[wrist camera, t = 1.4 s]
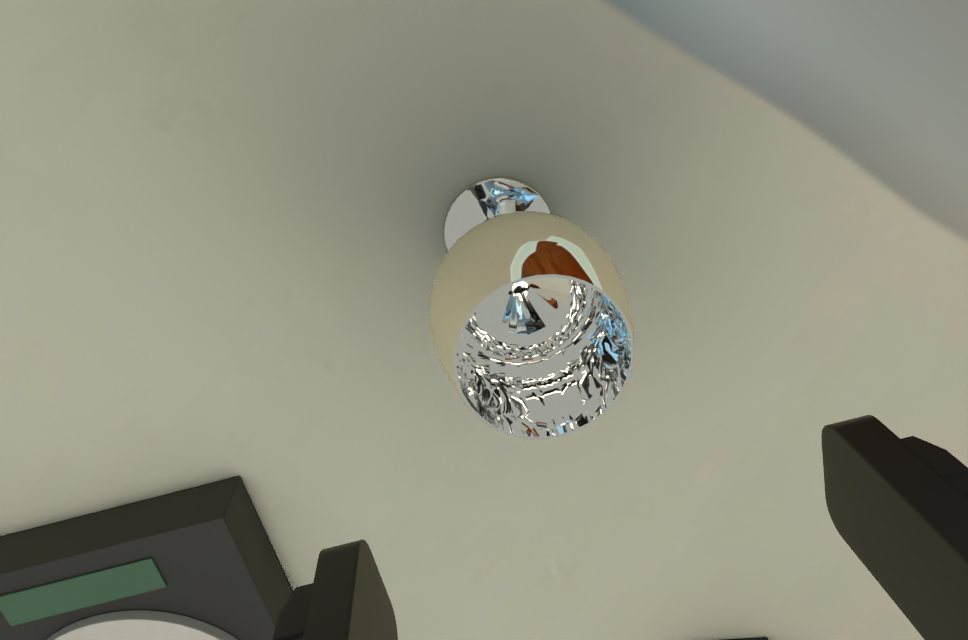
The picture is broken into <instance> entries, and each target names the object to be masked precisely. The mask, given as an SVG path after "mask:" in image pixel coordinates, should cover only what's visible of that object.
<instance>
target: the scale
mask: <svg viewBox="0 0 968 640" xmlns="http://www.w3.org/2000/svg"><path fill="white" fill-rule="evenodd" d="M292 593H293V592H292V590H291V587H290V585H289V583H288V581H287V579H286V576H285V574H284V572H283V570H282V568H281V566H280V563H279V561H278V559H277V557H276V555H275V552H274V550H273V548H272V546H271V544H270V542H269V539H268V537H267V535H266V533H265V531H264V529H263V526H262V524H261V522H260V520H259V518H258V515H257V513H256V511H255V509H254V507H253V505H252V502H251V500H250V498H249V496H248V494H247V492H246V489H245V487H244V485H243V483H242V481H241V478H240V477H235V478H232V479H228V480H224V481H220V482H216V483H212V484H208V485H204V486H200V487H196V488H192V489H188V490H184V491H180V492H177V493H173V494H169V495H165V496H161V497H157V498H153V499H149V500H145V501H141V502H137V503H133V504H129V505H125V506H122V507H118V508H114V509H110V510H106V511H102V512H98V513H94V514H90V515H86V516H82V517H78V518H74V519H70V520H67V521H63V522H59V523H55V524H51V525H47V526H43V527H39V528H35V529H31V530H27V531H23V532H19V533H15V534H12V535H8V536H4V537H0V640H272V639H273V635H274V631H275V626H276V622H277V618H278V614H279V612H280V611H281V609H282V608H283V606H284V605H285V603H286V602H287V600H288V599H289V597H290V596H291V594H292Z"/></svg>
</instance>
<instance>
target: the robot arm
mask: <svg viewBox="0 0 968 640" xmlns="http://www.w3.org/2000/svg"><path fill="white" fill-rule="evenodd" d="M822 451H823V466H824V481H825V496H826V503H827V507H828V511H829V514H830V516H831V519H832V521H833V523H834V525H835V527H836V529H837V531H838V532H839V534H840V535H841V536H842V538H843V539H844V540H845V541H846V543H847V544H848V545H849V546H850V548H851V549H852V550H853V551H854V553H855V554H856V555H857V556H858V558H859V559H860V560H861V561H862V563H863V564H864V565H865V566H866V567H867V569H868V570H869V571H870V572H871V574H872V575H873V576H874V577H875V579H876V580H877V581H878V582H879V584H880V585H881V586H882V587H883V589H884V590H885V591H886V592H887V593H888V595H889V596H890V597H891V598H892V600H893V601H894V602H895V603H896V605H897V606H898V607H899V608H900V610H901V611H902V612H903V613H904V615H905V616H906V617H907V618H908V619H909V621H910V622H911V623H912V624H913V626H914V627H915V628H916V629H917V631H918V632H919V633H920V634H921V636H922V637H923V638H924V639H925V640H968V468H967V467H966V466H965V465H964V464H962V463H961V462H960V461H959V460H958V459H956V458H955V457H954V456H953V455H951V454H950V453H949V452H948V451H947V450H945V449H942V448H940V447H938V446H935V445H933V444H931V443H928V442H926V441H924V440H921V439H919V438H917V437H914V436H911V437H907V438H903V439H900V438H898V437H897V436H896V435H895V434H894V433H893V432H892V431H890V430H889V429H888V428H887V427H886V426H885V425H884V424H882V423H881V422H880V421H879V420H878V419H877V418H875V417H874V416H871V415H866V416H862V417H858V418H854V419H850V420H846V421H842V422H838V423H834V424H830V425H826V426H825V427H824V428H823V430H822ZM272 640H398V636H397V626H396V620H395V615H394V611H393V608H392V604H391V602H390V599H389V596H388V594H387V591H386V589H385V586H384V584H383V581H382V578H381V576H380V573H379V571H378V568H377V566H376V563H375V560H374V558H373V555H372V553H371V550H370V548H369V546H368V544H367V542H366V541H365V540H359V541H355V542H351V543H347V544H343V545H339V546H335V547H331V548H327V549H323V550H321V552H320V554H319V558H318V563H317V568H316V573H315V578H314V583H312V584H308V585H304V586H300V587H296V589H295V590H294V592H293V593H292V594H291V596H290V597H289V599H288V600H287V602H286V603H285V605H284V606H283V608H282V609H281V611H280V612H279V614H278V618H277V622H276V626H275V631H274V635H273V639H272Z"/></svg>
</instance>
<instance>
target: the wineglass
mask: <svg viewBox="0 0 968 640" xmlns="http://www.w3.org/2000/svg"><path fill="white" fill-rule="evenodd" d="M444 240H445V245H446V249H447V251H448V252H447V253H446V255H445V257H444V258H443V260H442V262H441V264H440V266H439V268H438V270H437V273H436V276H435V278H434V281H433V284H432V288H431V294H430V300H429V321H430V330H431V334H432V338H433V341H434V345H435V349H436V352H437V355H438V358H439V361H440V363H441V365H442V367H443V369H444V371H445V372H446V374H447V376H448V378H449V380H450V381H451V383H452V385H453V387H454V388H455V390H456V391H457V393H458V394H459V395H460V397H461V398H462V400H463V401H464V402H465V404H466V405H467V406H468V407H469V408H470V409H471V411H472V412H473V413H474V414H475V415H476V416H477V417H478V418H479V419H480V420H481V421H482V422H484V423H485V424H487V425H488V426H490V427H492V428H493V429H495V430H497V431H499V432H502V433H504V434H507V435H510V436H514V437H518V438H525V439H534V440H535V439H551V438H556V437H561V436H565V435H569V434H571V433H574V432H576V431H578V430H581V429H583V428H585V427H587V426H588V425H590V424H591V423H593V422H595V421H596V420H598V419H599V418H600V417H602V416H603V415H604V414H605V413H606V412H607V411H608V410H609V409H610V408H611V407H612V406H613V405H614V404H615V402H616V401H617V399H618V398H619V397H620V395H621V394H622V392H623V391H624V389H625V387H626V384H627V382H628V379H629V377H630V374H631V372H632V366H633V359H634V327H633V321H632V315H631V308H630V303H629V299H628V295H627V292H626V289H625V286H624V284H623V282H622V279H621V277H620V275H619V273H618V270H617V268H616V266H615V264H614V263H613V261H612V260H611V258H610V257H609V255H608V254H607V253H606V251H605V250H604V249H603V247H602V246H601V245H600V244H599V243H598V242H597V241H596V240H595V239H594V238H593V237H592V236H591V235H590V234H588V233H587V232H586V231H585V230H583V229H582V228H581V227H579V226H577V225H575V224H573V223H571V222H569V221H568V220H565V219H563V218H561V217H558V216H556V215H552V214H551V212H550V209H549V207H548V205H547V203H546V202H545V200H544V199H543V197H542V196H541V195H540V194H539V193H538V192H537V191H535V190H534V189H533V188H531V187H530V186H529V185H527V184H525V183H523V182H520V181H518V180H516V179H509V178H503V177H501V178H489V179H486V180H483V181H480V182H477V183H475V184H473V185H472V186H470V187H468V188H466V189H465V190H464V191H463V192H462V193H461V194H460V195H459V196H458V197H457V198H456V199H455V201H454V202H453V204H452V205H451V207H450V209H449V211H448V214H447V216H446V220H445V225H444Z"/></svg>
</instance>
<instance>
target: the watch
mask: <svg viewBox="0 0 968 640" xmlns="http://www.w3.org/2000/svg"><path fill="white" fill-rule="evenodd" d="M734 640H768V638H751V639H734Z"/></svg>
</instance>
